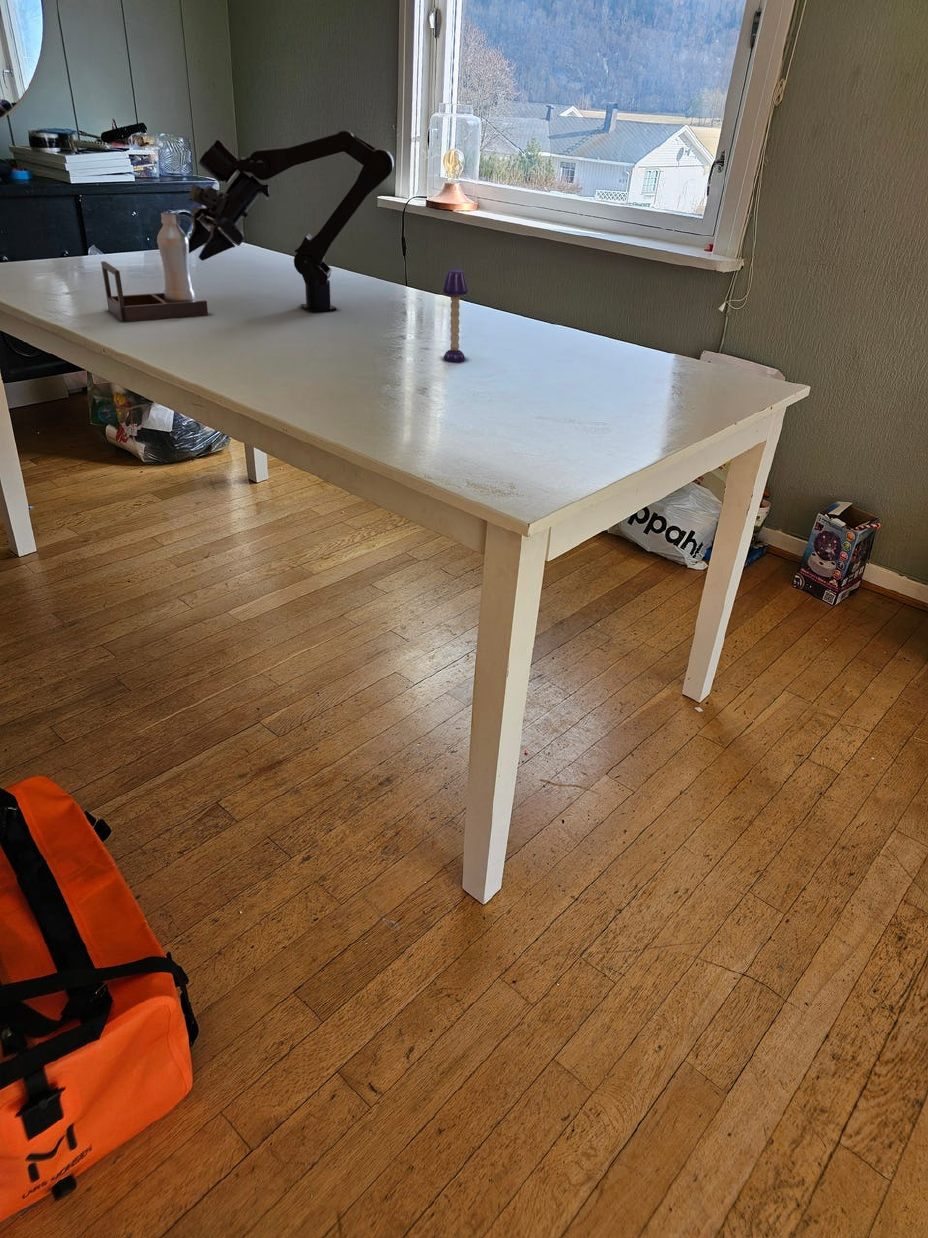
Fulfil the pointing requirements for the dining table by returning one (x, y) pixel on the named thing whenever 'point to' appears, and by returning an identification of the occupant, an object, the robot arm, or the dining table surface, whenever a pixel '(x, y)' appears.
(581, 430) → the dining table surface
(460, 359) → the toy lamp
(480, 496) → the dining table surface
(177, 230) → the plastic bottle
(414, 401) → the dining table surface
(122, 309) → the wooden divided caddy
